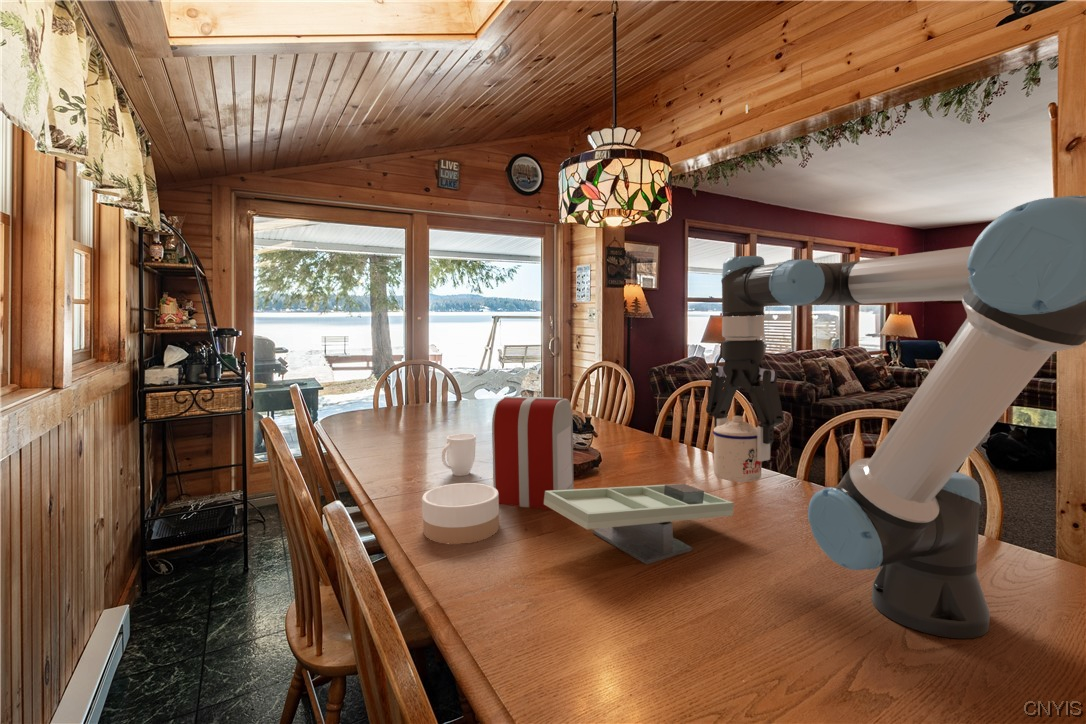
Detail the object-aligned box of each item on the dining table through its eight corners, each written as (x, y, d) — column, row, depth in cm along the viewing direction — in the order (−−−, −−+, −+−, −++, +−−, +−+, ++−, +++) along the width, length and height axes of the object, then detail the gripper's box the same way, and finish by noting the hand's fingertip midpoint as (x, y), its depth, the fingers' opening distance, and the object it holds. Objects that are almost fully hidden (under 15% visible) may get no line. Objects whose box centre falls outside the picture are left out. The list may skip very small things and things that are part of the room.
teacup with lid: (751, 486, 98) (752, 422, 97) (704, 477, 104) (704, 417, 103) (775, 471, 107) (776, 413, 106) (730, 464, 113) (731, 409, 112)
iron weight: (702, 504, 119) (704, 490, 119) (682, 506, 116) (684, 492, 116) (683, 496, 124) (684, 484, 124) (663, 498, 121) (664, 485, 121)
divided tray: (732, 515, 116) (733, 502, 116) (586, 529, 98) (588, 514, 98) (680, 495, 130) (681, 483, 130) (543, 504, 112) (544, 490, 112)
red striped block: (557, 510, 135) (555, 403, 133) (492, 503, 140) (489, 400, 138) (574, 490, 150) (573, 394, 148) (515, 485, 156) (513, 392, 154)
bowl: (408, 531, 123) (406, 495, 122) (467, 511, 136) (466, 478, 135) (455, 552, 111) (453, 512, 111) (514, 527, 124) (514, 492, 123)
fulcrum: (692, 550, 110) (692, 519, 109) (646, 564, 104) (646, 531, 103) (635, 522, 125) (635, 494, 125) (593, 533, 119) (592, 504, 119)
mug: (462, 468, 175) (462, 431, 174) (481, 473, 169) (481, 435, 168) (434, 476, 166) (433, 438, 164) (453, 482, 160) (453, 442, 159)
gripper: (807, 339, 95) (805, 464, 97) (713, 337, 114) (713, 442, 116) (779, 340, 92) (778, 470, 93) (687, 339, 111) (687, 447, 112)
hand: (742, 454), depth 105 cm, fingers closed on teacup with lid, 9 cm apart
